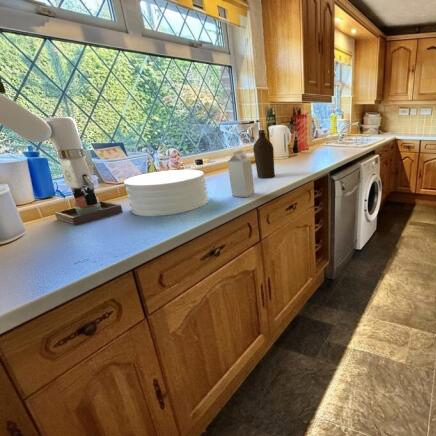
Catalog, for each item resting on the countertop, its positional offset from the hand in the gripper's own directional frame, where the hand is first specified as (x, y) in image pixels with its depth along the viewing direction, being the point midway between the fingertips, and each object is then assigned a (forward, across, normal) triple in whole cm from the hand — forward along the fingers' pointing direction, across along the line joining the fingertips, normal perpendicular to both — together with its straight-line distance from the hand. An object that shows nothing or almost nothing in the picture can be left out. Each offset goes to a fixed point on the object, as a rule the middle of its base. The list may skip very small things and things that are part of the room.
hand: (86, 203), depth 110 cm
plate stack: (+5, +16, +22) cm, 28 cm away
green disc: (+4, 0, 0) cm, 4 cm away
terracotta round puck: (+1, 0, 0) cm, 1 cm away
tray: (+5, 0, 0) cm, 5 cm away
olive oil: (+5, +17, +79) cm, 81 cm away
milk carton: (+5, +33, +45) cm, 56 cm away
